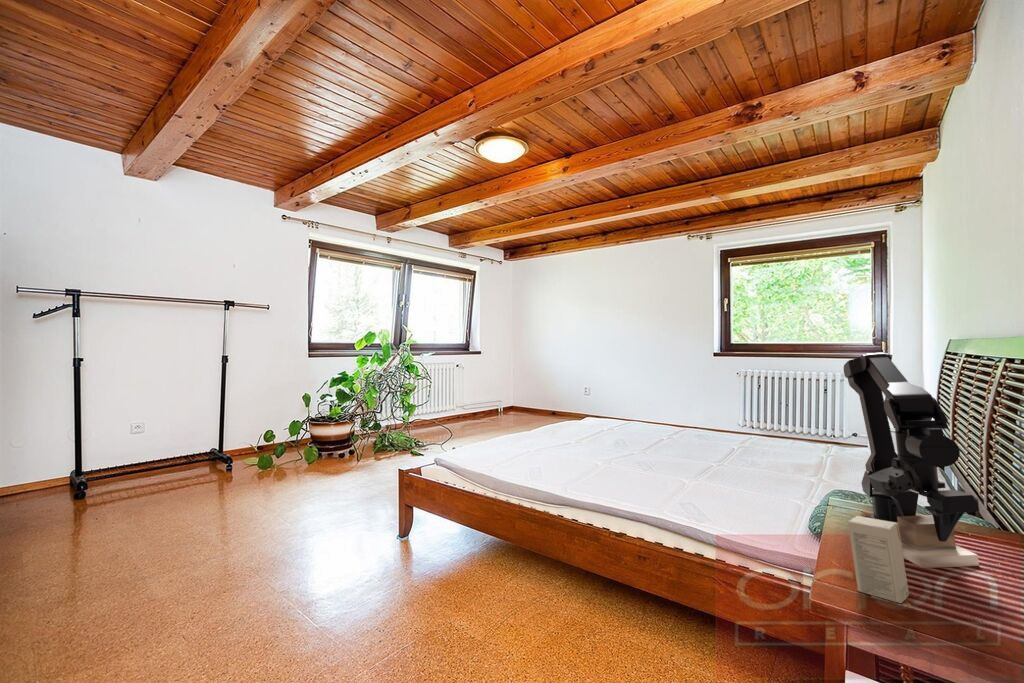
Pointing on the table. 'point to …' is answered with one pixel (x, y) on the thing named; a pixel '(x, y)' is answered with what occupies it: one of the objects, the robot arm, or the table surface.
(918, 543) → the block
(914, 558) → the birch board
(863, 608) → the table surface
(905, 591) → the skincare box
